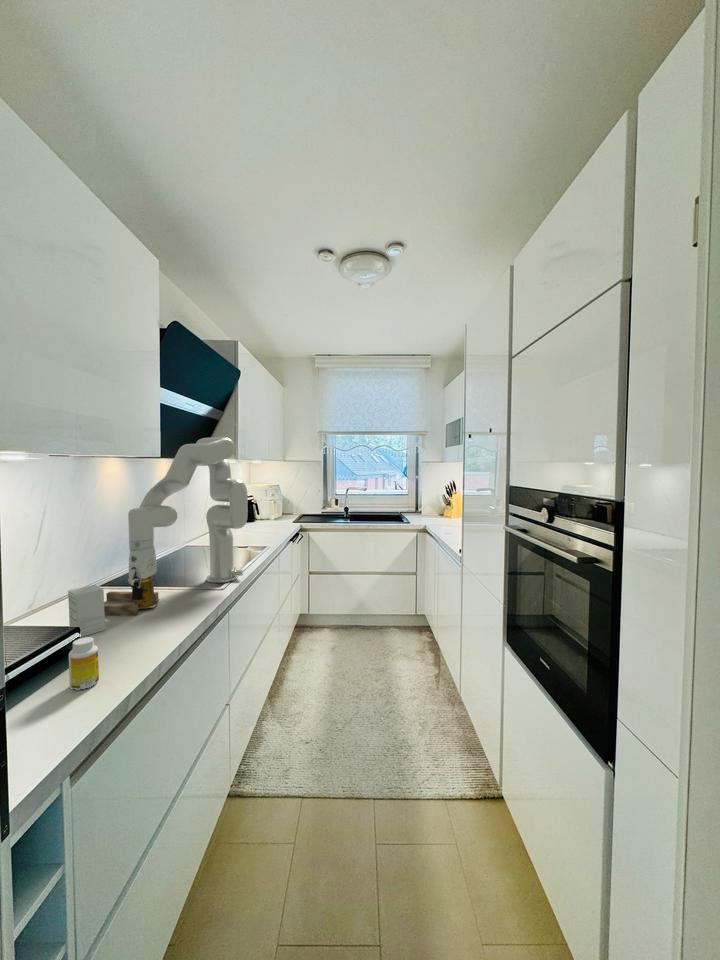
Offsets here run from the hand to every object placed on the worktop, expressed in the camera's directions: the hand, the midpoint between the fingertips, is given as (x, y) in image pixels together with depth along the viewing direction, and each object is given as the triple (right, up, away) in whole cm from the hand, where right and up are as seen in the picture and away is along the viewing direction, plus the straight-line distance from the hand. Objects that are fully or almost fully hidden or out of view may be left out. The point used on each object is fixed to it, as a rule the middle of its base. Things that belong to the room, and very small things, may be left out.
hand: (143, 595), depth 145 cm
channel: (-8, -4, +1) cm, 9 cm away
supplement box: (-7, -5, -19) cm, 21 cm away
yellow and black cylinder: (0, -4, +1) cm, 4 cm away
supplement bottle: (+12, -7, -49) cm, 51 cm away
